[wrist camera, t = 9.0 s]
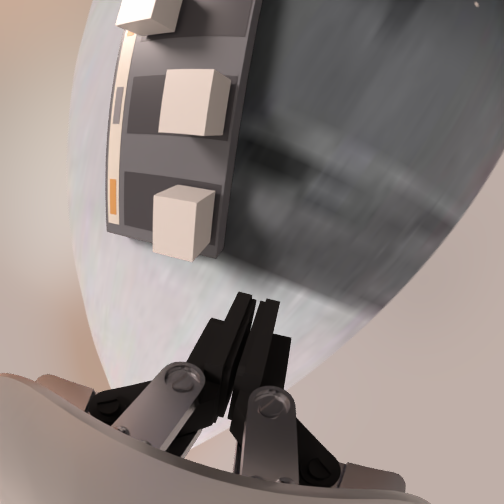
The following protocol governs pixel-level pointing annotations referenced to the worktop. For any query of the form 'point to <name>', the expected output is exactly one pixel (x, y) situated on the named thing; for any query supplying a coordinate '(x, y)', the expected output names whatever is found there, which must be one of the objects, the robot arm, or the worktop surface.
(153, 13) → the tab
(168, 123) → the tab middle
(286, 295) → the worktop surface
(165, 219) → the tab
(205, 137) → the switch plate
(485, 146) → the worktop surface
